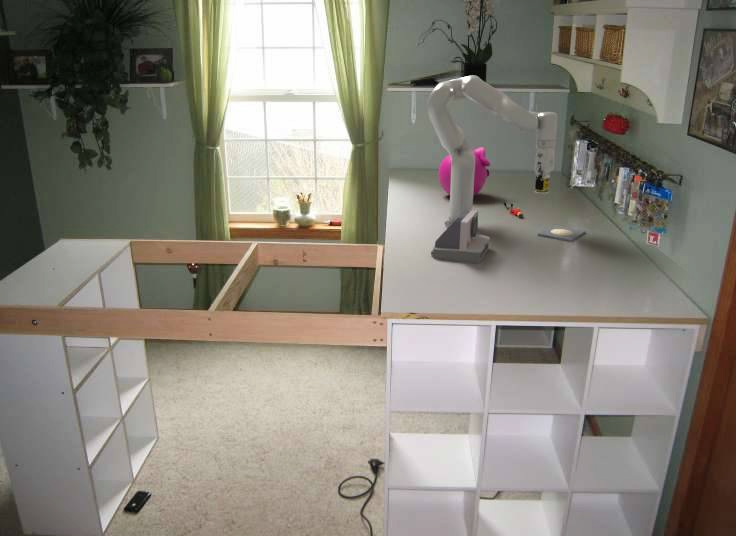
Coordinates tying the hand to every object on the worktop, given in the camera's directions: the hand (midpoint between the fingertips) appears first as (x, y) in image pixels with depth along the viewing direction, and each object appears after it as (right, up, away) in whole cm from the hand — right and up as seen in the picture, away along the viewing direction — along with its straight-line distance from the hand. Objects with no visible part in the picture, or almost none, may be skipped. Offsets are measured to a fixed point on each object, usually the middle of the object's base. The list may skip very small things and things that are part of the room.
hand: (542, 187), depth 269 cm
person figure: (-4, -8, +31) cm, 32 cm away
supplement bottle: (0, -2, +1) cm, 2 cm away
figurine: (-24, +2, +60) cm, 64 cm away
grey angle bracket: (-37, -28, -23) cm, 51 cm away
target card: (+8, -19, 0) cm, 21 cm away
